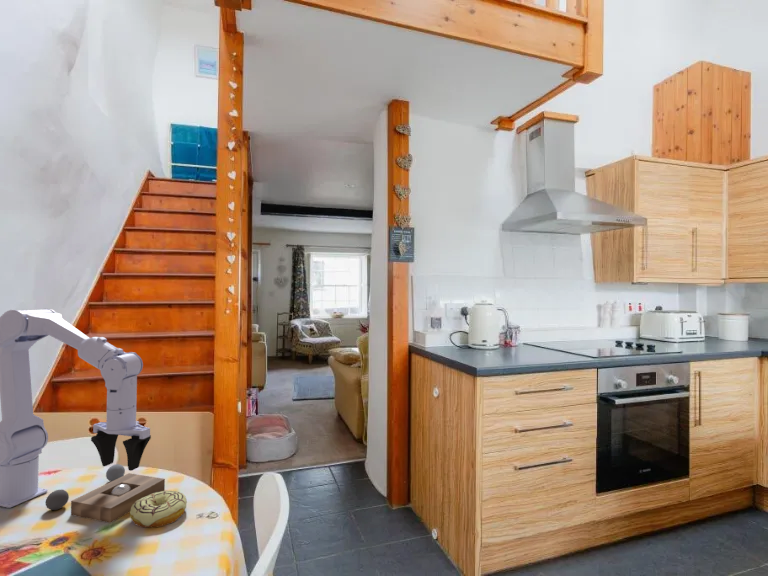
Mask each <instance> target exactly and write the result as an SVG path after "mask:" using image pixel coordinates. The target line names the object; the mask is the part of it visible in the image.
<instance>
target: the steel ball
mask: <svg viewBox="0 0 768 576" xmlns="http://www.w3.org/2000/svg"><path fill="white" fill-rule="evenodd" d="M129 491H131V488H130V486H129V485H127V484H120V485H118V486H116V487H115V488H114V489H113V490H112V492H111V495H112V496H118V497H119V496H121V495H123V494H125V493H127V492H129Z"/></svg>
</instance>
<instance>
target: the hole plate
mask: <svg viewBox="0 0 768 576" xmlns="http://www.w3.org/2000/svg"><path fill="white" fill-rule="evenodd" d="M165 480H166V478H163V477H162V478H161V477H155V476H149V475H142V474H138V473H130V472H128V473H126V474H124V476H122V477H120V478H118V479H116V480H114V481H109V482H108V483H106V484H103V485H101V486H100V487H96V488H95V489H94V490H91V491H88V492H87V493H85V494H83V495H81V496H77V498H74V499H72V500H70V516H73V517H79V518H84V519H89V520H93V521H99V522H104V523H109V524H111V523H113V522H114V521H117V520H119V519H120V518H122V517H123V516H125V515H127V514H129V513H130V511H131V507H132V505H133V504H134V503H135V502H136V501H137V500H139V499H141V498H143V497H145V496H148V495H150V494H152V493H156V492H161V491H166V489H165V488H166V487H165V483H166V481H165ZM120 484H127V485H129V486H130V488H131V491H129V492H127V493H125V494H123V495H121V496H119V497H118V496H112V495H111V492H112V490H113V489H114V488H115V487H116V486H118V485H120Z"/></svg>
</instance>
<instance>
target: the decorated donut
mask: <svg viewBox="0 0 768 576" xmlns="http://www.w3.org/2000/svg"><path fill="white" fill-rule="evenodd" d="M187 503H188V501H187V497H186V495H185V494H184V493H183V492H180V491H176V490H165V491H161V492H156V493H152V494H150V495H148V496H145V497H143V498H141V499H139V500H137V501H136V502H135V503H134V504H133V505H132V507H131V511H130V512H129V518H130V519H131V521H132V522H133V523H134V524H135V525H136V526H138V527H141V528H145V527H146V528H154V529H155V528H158V527H164V526H166V525H168V524H173V523H175V522H176V521H177V520H178V519H180V518H181V517H182V516H183V515H184V514H185V511H186V509H187Z"/></svg>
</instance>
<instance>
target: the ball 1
mask: <svg viewBox="0 0 768 576" xmlns="http://www.w3.org/2000/svg"><path fill="white" fill-rule="evenodd" d="M69 498H70V497H69V493H68V492H67V491H66V490H64V489H56V490H54V491H52V492H51V493H50V494H48V495H47V497H46V499H45V501H44V502H45V506H46V508H47V509H48V510H50V511H58V510H60V509H62V508H63V507H64V506H66V504H67V503H68V501H69Z"/></svg>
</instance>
